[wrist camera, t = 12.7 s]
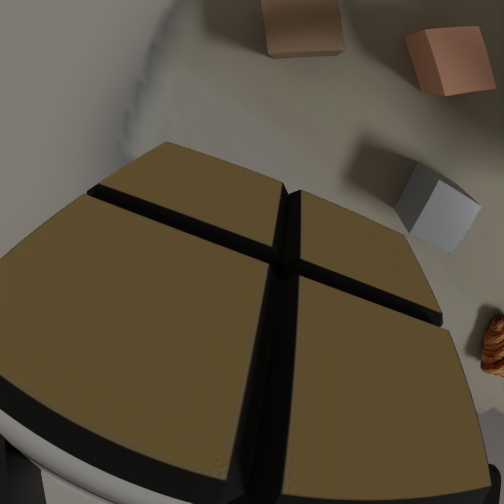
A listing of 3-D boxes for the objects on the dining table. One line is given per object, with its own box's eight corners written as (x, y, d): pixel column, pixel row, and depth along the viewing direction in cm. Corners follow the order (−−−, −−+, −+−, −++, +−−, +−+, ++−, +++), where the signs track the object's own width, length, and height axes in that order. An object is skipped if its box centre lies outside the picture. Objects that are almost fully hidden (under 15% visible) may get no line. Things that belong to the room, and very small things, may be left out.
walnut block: (266, 5, 23) (258, -11, 18) (328, 1, 22) (334, -16, 16) (274, 59, 26) (268, 54, 21) (336, 55, 25) (344, 50, 20)
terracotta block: (402, 36, 22) (424, 29, 17) (450, 31, 20) (478, 25, 15) (420, 91, 25) (445, 96, 20) (466, 84, 23) (496, 88, 18)
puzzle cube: (302, 378, 16) (286, 550, 8) (132, 317, 16) (48, 477, 8) (408, 234, 11) (503, 496, 3) (162, 136, 11) (-85, 324, 2)
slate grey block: (417, 161, 29) (439, 179, 24) (457, 184, 29) (481, 206, 24) (393, 208, 32) (409, 233, 27) (433, 227, 32) (452, 254, 27)
